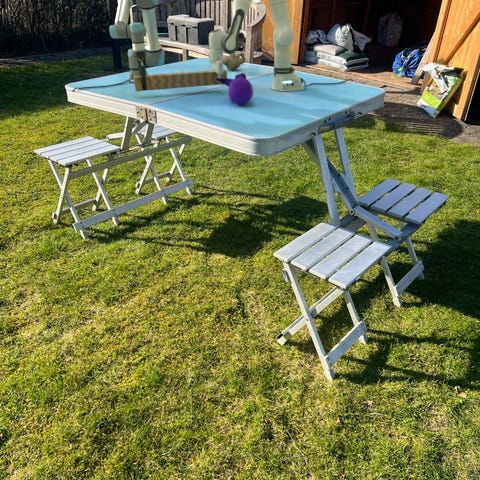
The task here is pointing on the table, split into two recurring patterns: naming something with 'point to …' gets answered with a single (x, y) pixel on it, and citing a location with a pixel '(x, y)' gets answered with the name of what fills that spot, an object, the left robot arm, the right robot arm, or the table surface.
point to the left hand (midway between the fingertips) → (144, 88)
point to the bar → (179, 80)
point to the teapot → (233, 61)
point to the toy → (238, 89)
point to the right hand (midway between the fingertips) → (217, 79)
